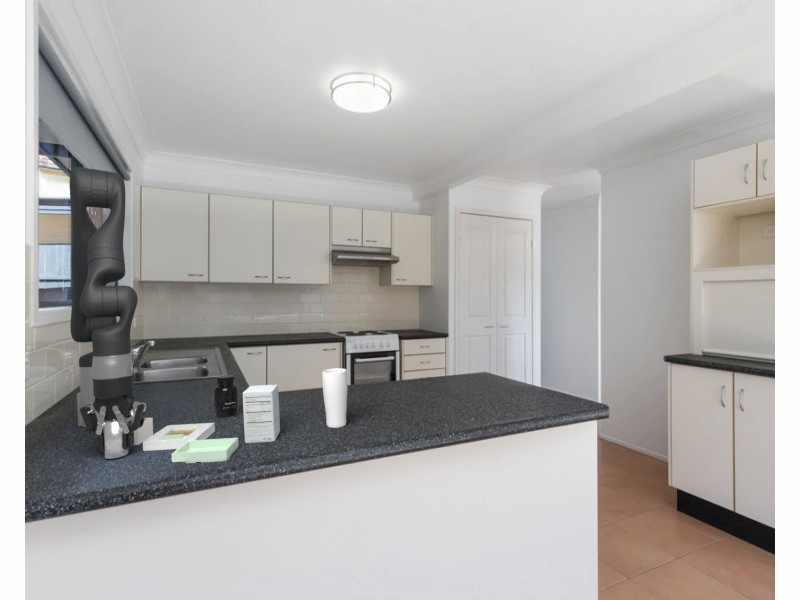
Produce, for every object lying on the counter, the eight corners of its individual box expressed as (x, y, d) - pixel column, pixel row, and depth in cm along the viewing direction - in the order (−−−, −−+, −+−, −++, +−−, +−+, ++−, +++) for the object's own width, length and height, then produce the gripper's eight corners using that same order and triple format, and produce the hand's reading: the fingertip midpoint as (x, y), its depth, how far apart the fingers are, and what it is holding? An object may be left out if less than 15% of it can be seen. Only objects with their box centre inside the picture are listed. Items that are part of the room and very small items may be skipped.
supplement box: (252, 433, 108) (250, 385, 108) (280, 431, 109) (278, 383, 108) (243, 443, 101) (241, 392, 100) (274, 441, 101) (272, 390, 101)
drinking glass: (328, 431, 107) (326, 374, 107) (320, 424, 113) (318, 370, 113) (352, 426, 110) (350, 371, 110) (344, 420, 116) (342, 367, 116)
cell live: (100, 459, 91) (98, 420, 91) (112, 451, 96) (111, 414, 95) (121, 458, 92) (119, 419, 91) (132, 450, 96) (130, 413, 96)
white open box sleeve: (108, 448, 100) (107, 427, 100) (125, 438, 107) (124, 419, 107) (138, 446, 101) (137, 426, 101) (153, 436, 108) (152, 417, 108)
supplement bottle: (230, 419, 120) (228, 378, 120) (209, 419, 122) (207, 378, 121) (243, 412, 127) (242, 374, 127) (223, 412, 128) (222, 373, 128)
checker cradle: (143, 452, 97) (142, 439, 97) (168, 435, 109) (167, 423, 109) (196, 449, 98) (195, 436, 97) (215, 432, 110) (214, 420, 109)
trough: (172, 464, 89) (171, 453, 89) (188, 450, 97) (187, 440, 97) (226, 460, 90) (226, 450, 90) (238, 447, 98) (238, 437, 98)
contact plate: (163, 442, 100) (163, 438, 100) (174, 434, 106) (174, 430, 106) (188, 441, 100) (187, 437, 100) (198, 433, 106) (197, 429, 106)
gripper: (67, 379, 89) (71, 457, 89) (136, 376, 90) (140, 454, 90) (91, 372, 96) (94, 444, 97) (154, 369, 97) (157, 441, 98)
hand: (116, 448), depth 94 cm, fingers closed on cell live, 4 cm apart
